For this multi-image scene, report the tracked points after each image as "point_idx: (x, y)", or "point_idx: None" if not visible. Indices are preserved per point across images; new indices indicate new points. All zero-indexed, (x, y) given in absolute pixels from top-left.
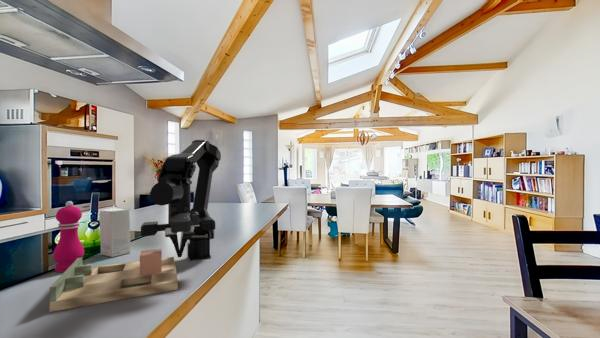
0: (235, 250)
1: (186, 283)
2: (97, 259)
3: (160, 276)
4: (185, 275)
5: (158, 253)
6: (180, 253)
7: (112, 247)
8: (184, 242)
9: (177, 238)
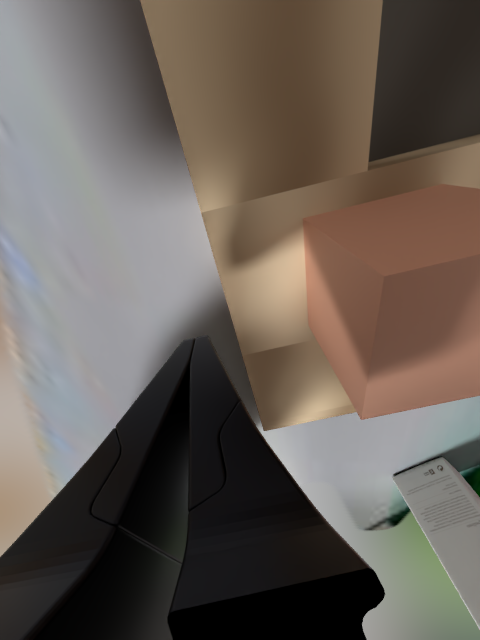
0: (53, 485)
1: (91, 66)
2: (476, 447)
3: (304, 102)
4: (162, 254)
5: (418, 280)
6: (183, 355)
7: (464, 490)
8: (96, 473)
9: (180, 571)
